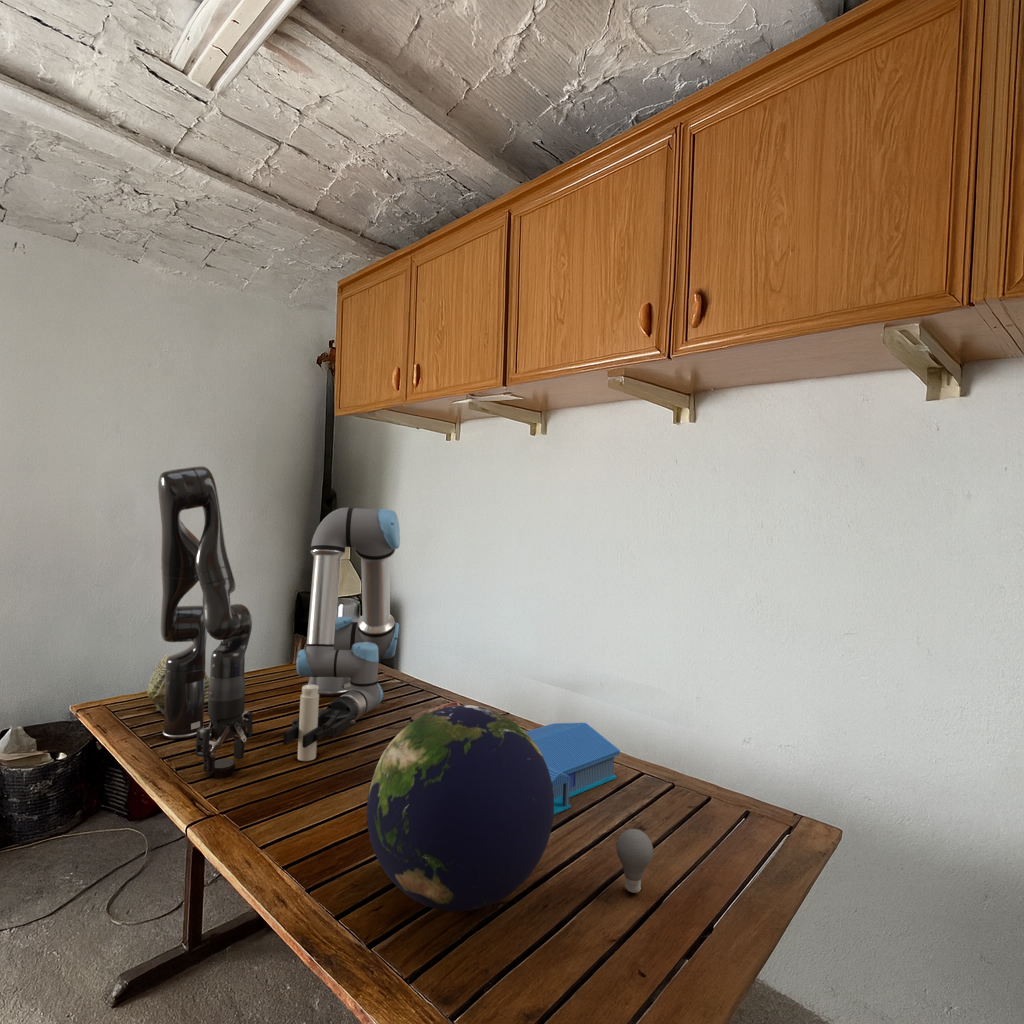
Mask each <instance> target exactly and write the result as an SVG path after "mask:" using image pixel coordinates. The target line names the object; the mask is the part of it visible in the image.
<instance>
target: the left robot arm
mask: <svg viewBox="0 0 1024 1024" xmlns="http://www.w3.org/2000/svg"><path fill="white" fill-rule="evenodd" d="M157 482H158V483H157V491H158V492H157V493H158V503H159V512H160V522H161V556H160V564H161V565H160V566H161V585H162V598H161V613H160V635H161V638H162V641H165V642H167V643H189V642H190V643H191V642H192V644H191V645H190V646H188V647H187V648H186V649H185V648H184V649H183V650H181V651H179V652H176V653H174V654H170V655H171V656H169V657H168V658H167V660H166V674H165V705H164V708H160V712H161V714H162V715H163V730H162V737H164V738H166V739H169V740H185V739H190V738H191V739H192V738H194V737H196V740H195V752H194V753H195V756H197V757H201V758H203V760H202V761H203V768H202V769H203V770H202V771H204V773H205V774H209V775H210V774H212V773H214V771H215V761H216V753H217V751H218V749H219V748H221V747H222V745H223V744H224V742H226V741H228V740H229V739H234V742H233V758H234V759H236V760H242V759H243V758H244V755H245V751H246V750H245V747H246V746H245V744H246V742H247V740H248V738H252V736H253V712H252V711H248V710H245V701H246V700H245V699H246V679H245V677H246V676H245V667H246V666H245V665H246V662H245V661H246V651H247V648H248V646H249V643H250V637H251V634H252V629H253V617H252V613H251V611H250V610H249V608H248V607H247V606H246V605H244V604H241V603H234V604H231V594H232V593H233V592H235V591H236V588H237V584H236V579H235V577H234V572H233V569H232V566H231V562H230V558H229V555H228V551H227V547H226V541H225V540H226V539H225V534H224V527H223V525H224V524H223V519H222V512H221V506H220V498H219V493H218V489H217V484H216V480H215V478H214V474H213V473H212V472H211V470H210V469H209V468H208V467H207V466H203V465H199V466H198V465H197V466H191V467H185V468H184V467H183V468H176V469H169V470H165V471H163V472H161V474H160V475H159V478H158V480H157ZM196 508H202V512H203V517H204V521H203V522H204V523H203V530H202V534H201V537H200V540H199V539H198V538H197V537H196V535H194V533H193V532H192V531H190V530H189V528H187V527H186V525H185V524H184V523H183V521H182V520H181V512H182V511H186V510H193V509H196ZM198 582H199V586H200V588H201V592H202V605H179V603H180V602H181V600H182V599H183V598H184V597H185V596H186V595H187V594H188V593H189V592H190V591H191V590H192V589H193V588H194V587H195V585H197V584H198ZM207 635H209V636H210V637H211V638H212V639H214V640H216V641H220V644H219V645H218V646H217V647H216V648H215V649H214V650H213V651H212V653H211V656H210V670H209V671H210V672H209V673H210V675H209V678H210V681H209V693H208V706H207V717H208V718H209V721H210V722H209V724H208V726H207V727H205V725H204V722H205V721H204V718H205V706H204V693H205V672H206V664H207V663H206V656H207V655H206V654H207V653H206V652H207V649H206V648H207V637H208V636H207ZM214 740H215V741H214Z"/></svg>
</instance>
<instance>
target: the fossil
mask: <svg viewBox="0 0 1024 1024" xmlns="http://www.w3.org/2000/svg"><path fill="white" fill-rule="evenodd" d="M171 655H172V654H165V655H164V656H163V657H162V658H161V659H160V660H159V662H158V663H157V666H156V667H155V669H154V670H153V672H152V675H151V677H150V680H149V684H148V688H147V697H148V699H149V700H150V701H152V703H153V704H154V706H155V711H158V712H159V711H160V708H164V705H165V674H166V660H167V658H168V657H169V656H171ZM209 681H210V676H209V675H208V674H207V672H206V671H205V693H204V707H208V693H209ZM160 712H161V711H160Z"/></svg>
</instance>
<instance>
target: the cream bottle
mask: <svg viewBox="0 0 1024 1024" xmlns="http://www.w3.org/2000/svg"><path fill="white" fill-rule="evenodd" d="M318 689H319V687H318V685H313V684H310V685H308V684H305V685H302V687H301V694H300V695H299V713H298V718H299V734H298V738H297V760H298V761H302V762H309V761H313V760H315V759H316V758H317V752H318V751H317V750H318V748H317V747H318V740H317V741H315V742H314V743H312V744H310V745H309V746H307V747H306V748H304V747H303V735H305V734H307V733H308V732H310V731H312V730H313V729H315V728H317V727H318V712H320V711H319V708H320V696H319V694H318Z"/></svg>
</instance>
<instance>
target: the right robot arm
mask: <svg viewBox="0 0 1024 1024" xmlns="http://www.w3.org/2000/svg"><path fill="white" fill-rule="evenodd" d="M400 530H401V529H400V522H399V517H398V515H397V513H396V511H395V510H392V509H383V508H359V507H340V508H337V509H334V510H333V511H331V512H330V513H328V514H327V515H325V517H324V518H323V519H322V521H320V523H319V525H318V526H317V527H316V530H315V531H314V534H313V536H312V539H311V544H310V554H311V555H312V557H313V563H312V575H311V587H310V600H309V612H308V622H307V623H308V624H307V635H306V636H307V637H306V648H304V649H300V650H299V651H298V652H297V657H296V663H295V664H296V667H295V669H296V673H297V675H298V676H300V677H304V678H305V677H306V678H309V679H308V682H307V685H310V684H313V685H318V687H319V689H318V694H319V697H336V698H335V699H333V700H332V701H330V702H329V704H328V705H327V707H326V708H325V709H322V710H320V711H318V727H317V728H315V729H313V730H312V731H310V732H308V733H307V734H305V735H303V747H304V748H306V747H307V746H309V745H310V744H312V743H314V742H315V741H317V742H318V741H320V740H321V739H323V738H324V739H325V738H327V737H329V738H331V739H334V738H336V737H337V736H339V735H340V734H342V733H343V732H345V731H347V730H348V729H350V728H354V727H356V723H357V721H356V720H357V719H359V718H361V717H363V716H364V715H366V714H367V713H369V712H371V711H373V710H374V709H375V708H377V706H379V705H380V704H381V703H382V701H383V699H384V691H383V689H382V686H381V684H379V682H378V680H379V679H378V677H379V662H380V660H384V659H385V660H386V659H392V658H394V656H395V654H396V649H397V645H398V637H399V631H400V630H399V629H400V624H399V623H398V622H396V620H395V618H394V616H393V615H392V614H391V557H392V556H393V555H394V554H395V552H396V550H397V549H399V548H400V545H401V534H400ZM346 548H355V554H356V555H357V557H359V558H360V563H361V565H360V567H361V607H362V608H361V609H362V615H361V616H360V617H359V618H358V620H357V621H354V619H353V617H352V616H337V615H338V600H339V590H340V589H339V588H340V575H341V564H342V563H341V560H342V558H343V557H344V556H345V554H346ZM338 696H339V697H338ZM298 734H299V717H296V718H295V719H294V720H292V722H291V728H289V729H288V730H286V731H284V732H283V741H282V742H283V743H282V744H283V745H288V744H290V743H291V742H294V741H295V740H297V739H298Z"/></svg>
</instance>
